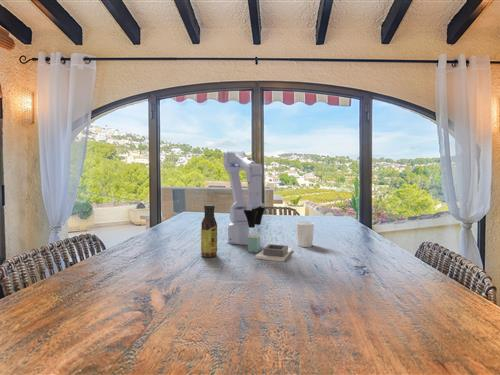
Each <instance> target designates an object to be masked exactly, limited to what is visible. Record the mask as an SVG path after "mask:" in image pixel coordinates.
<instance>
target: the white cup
mask: <svg viewBox="0 0 500 375" xmlns="http://www.w3.org/2000/svg"><path fill="white" fill-rule="evenodd" d="M295 227H296V228H295V230H296V231H295V232H296V245H297V247H301V248H310V247H312V246H313V240H314V229H315V228H314V227H315V223H314V222H310V221H297V222H296V223H295Z"/></svg>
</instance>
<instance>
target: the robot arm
mask: <svg viewBox="0 0 500 375" xmlns="http://www.w3.org/2000/svg"><path fill="white" fill-rule="evenodd" d="M222 158H223V159H222V161H223V165H224V166H223V167H224V170H225V171H227V173H228V178H229V181H230V189H231V191H232V192H231V194H232V197H233V198H232V199H233V202H234V203H233V204H232V205H230V207H229V219H230V223H229V224H228V228H227V244H231V245H233V244H234V245H243V246H248V234H250V228H253V229H254V228H255V226H256V225H258V226H259V225H261V223H262V218H263V215H264V212H265V210H266V207H264V206H265V203H263V202H262V201H263V199H262V197H263V193H262V191H263V188H262V186H263V184H262V183H263V182H262V180H263V179H262V178H263V177H264V176H265V167H264V164H262V163H257V162H255V160H253V159H252V157H250V156H248V157H247V155H246V152H244V151H228V150H225V151H224V153H223V156H222ZM242 171H244V172H245V177H246V182H247V202H246V200H245V195H244V191H243V187H242V186H243V185H242V182H241V176H240V172H242Z"/></svg>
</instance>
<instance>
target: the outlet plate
mask: <svg viewBox="0 0 500 375" xmlns="http://www.w3.org/2000/svg"><path fill="white" fill-rule="evenodd" d="M293 251H294V250H293V248H292V247H289V245H284V244H274V243H272V244H271V243H268V244H267V245H266V246H265V247H264V248H263V249H261V250H260V251H258V252H257V253H256V254H255V255H254V259H257V260H267V261H275V262H285V261H286V259H287V258H288V257H289V255H290V254H291V253H292V252H293Z"/></svg>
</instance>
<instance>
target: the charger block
mask: <svg viewBox="0 0 500 375" xmlns="http://www.w3.org/2000/svg"><path fill="white" fill-rule="evenodd" d="M260 251H261V233H255V232H249V234H248V244H247V252H248V253H256V254H258V253H259V252H260Z"/></svg>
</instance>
